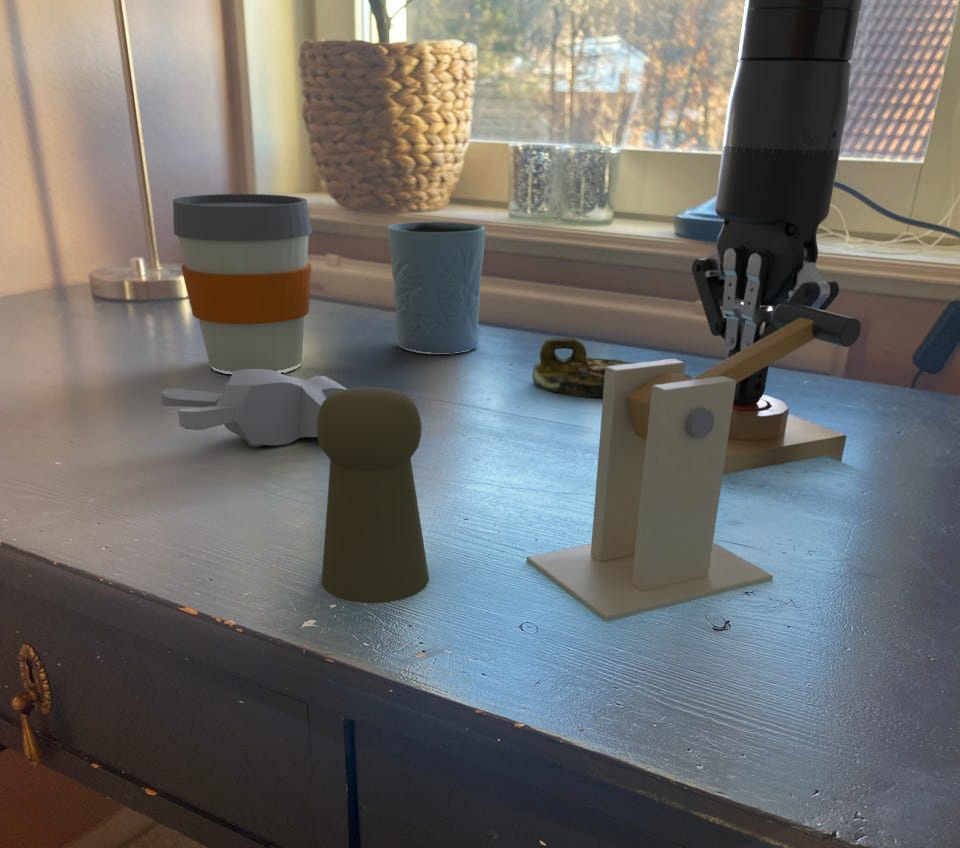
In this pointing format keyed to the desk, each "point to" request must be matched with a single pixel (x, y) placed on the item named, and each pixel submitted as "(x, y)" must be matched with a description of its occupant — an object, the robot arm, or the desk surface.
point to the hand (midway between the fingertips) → (741, 401)
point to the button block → (776, 438)
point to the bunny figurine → (257, 406)
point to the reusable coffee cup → (247, 276)
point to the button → (751, 406)
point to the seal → (572, 369)
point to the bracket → (655, 500)
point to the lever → (759, 352)
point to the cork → (371, 496)
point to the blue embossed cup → (437, 284)
